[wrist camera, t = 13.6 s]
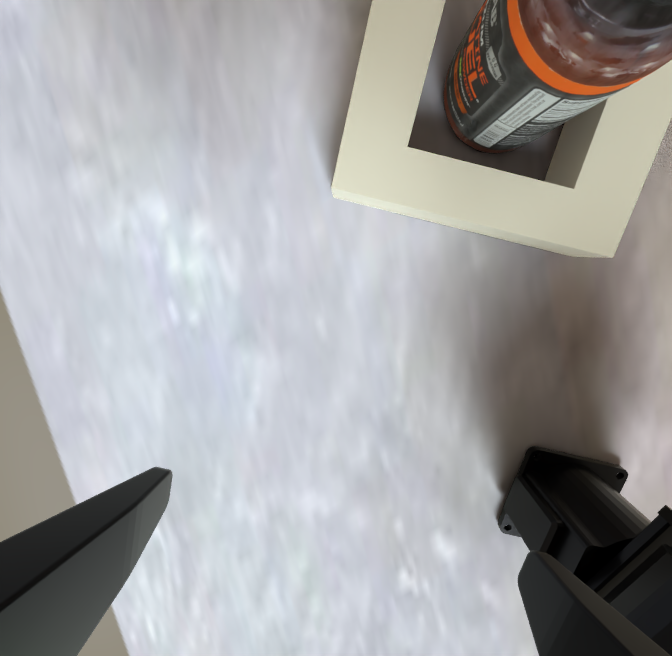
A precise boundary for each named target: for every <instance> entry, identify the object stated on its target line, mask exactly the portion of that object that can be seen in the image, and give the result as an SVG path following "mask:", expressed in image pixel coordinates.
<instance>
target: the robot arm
mask: <svg viewBox="0 0 672 656" xmlns="http://www.w3.org/2000/svg"><path fill="white" fill-rule="evenodd" d="M537 453H538V455H537V456H535V457H534V455H535V454H537ZM617 473H618V474H617ZM627 477H628V472H627V471H626V470H625V469H623V468H622V467H621V466H619V465H614V464H610V463H606V462H602V461H597V460H593V459H589V458H584V457H580V456H576V455H571V454H567V453H563V452H558V451H554V450H550V449H545V448H541V447H535V446H534V447H531V448H529V449H528V451H527V452H526V455H525V457H524V460H523V462H522V465H521V467H520V469H519V472H518V474H517V477H516V478H515V480H514V483H513V485H512V487H511V490H510V492H509V495H508V497H507V500H506V502H505V504H504V508H503V511H502V513H501V515H500V518H499V520H498V526H499V528H500V530H501V531H502V532H503V533H505V534H509V535H514V536H518V537H522V539H523V540H524V542H525V544H526V545H527V547H528V549H529V550H530V552H529V553H528V554H527V557H526V559H525V561H524V563H523V566H522V568H521V570H520V572H519V575H518V587H519V590H520V594H521V597H522V600H523V604H524V607H525V610H526V614H527V617H528V620H529V624H530V627H531V630H532V634H533V637H534V640H535V644H536V647H537V650H538V653H539V656H672V509H671V508H669V507H668V506H667V505H665V506H664V507H663V508H662V509H661V510H660V511H659V512H658V514H659V515H658V516H657V517H656V518H655V519H654V520H653V521H652V522H651V521H650V520H649V519H647V518H646V517H645V516H644V515H643V514H642V513H641V512H640V511H638V510H637V509H636V508H635V507H634V506H633V505H632V504H631V503H629V502H628V501H627V500H626V499H625V498H624V497H623V496H621V495H620V494H619V493H620V491H621V489H622V487H623V485H624V483H625V481H626V479H627ZM171 482H172V471H171V470H169V469H164V468H160V467H154V468H151V469H149V470H147V471H145V472H143V473H141V474H139V475H137V476H135V477H133V478H131V479H129V480H127V481H125V482H123V483H120V484H118V485H116V486H114V487H112V488H110V489H108V490H106V491H104V492H102V493H100V494H98V495H96V496H94V497H92V498H90V499H88V500H86V501H84V502H82V503H79V504H77V505H75V506H73V507H71V508H69V509H67V510H65V511H63V512H61V513H59V514H57V515H55V516H53V517H51V518H49V519H47V520H45V521H43V522H41V523H38V524H37V525H35V526H33V527H30V528H28V529H26V530H24V531H22V532H20V533H18V534H16V535H14V536H12V537H10V538H8V539H6V540H4V541H2V542H0V656H77V655H78V653H79V652H80V650H81V649H82V647H83V646H84V644H85V643H86V641H87V640H88V638H89V637H90V635H91V634H92V632H93V631H94V629H95V628H96V626H97V625H98V623H99V622H100V620H101V619H102V617H103V616H104V614H105V613H106V611H107V610H108V608H109V607H110V605H111V604H112V602H113V601H114V599H115V598H116V596H117V595H118V593H119V592H120V590H121V588H122V587H123V585H124V584H125V582H126V581H127V579H128V577H129V576H130V574H131V572H132V570H133V569H134V567H135V565H136V563H137V561H138V559H139V558H140V556H141V554H142V552H143V550H144V548H145V546H146V545H147V543H148V541H149V539H150V537H151V535H152V533H153V532H154V530H155V528H156V526H157V524H158V522H159V520H160V518H161V517H162V515H163V513H164V511H165V509H166V507H167V504H168V501H169V496H170V489H171ZM507 524H508V525H507ZM505 525H507V526H505Z"/></svg>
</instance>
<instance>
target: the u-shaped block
mask: <svg viewBox="0 0 672 656" xmlns="http://www.w3.org/2000/svg"><path fill="white" fill-rule="evenodd" d="M445 1H446V0H372V4H371V8H370V13H369V18H368V22H367V27H366V31H365V36H364V40H363V45H362V50H361V54H360V59H359V63H358V68H357V72H356V77H355V82H354V86H353V91H352V95H351V100H350V104H349V109H348V114H347V118H346V123H345V127H344V132H343V136H342V141H341V145H340V150H339V155H338V159H337V164H336V168H335V173H334V177H333V182H332V187H331V189H332V193H333V198H337V199H341V200H345V201H349V202H353V203H357V204H361V205H365V206H369V207H374V208H378V209H382V210H386V211H390V212H394V213H398V214H402V215H406V216H410V217H414V218H418V219H422V220H426V221H430V222H434V223H438V224H442V225H446V226H450V227H454V228H458V229H462V230H466V231H470V232H474V233H478V234H482V235H486V236H491V237H495V238H499V239H503V240H507V241H511V242H515V243H519V244H523V245H527V246H531V247H535V248H539V249H543V250H547V251H551V252H555V253H559V254H563V255H567V256H571V257H603V258H613V257H614V255H615V252H616V250H617V247H618V245H619V243H620V240H621V238H622V235H623V233H624V231H625V228H626V226H627V223H628V221H629V219H630V216H631V214H632V211H633V209H634V207H635V204H636V202H637V199H638V197H639V195H640V192H641V190H642V187H643V185H644V183H645V180H646V178H647V175H648V173H649V170H650V168H651V166H652V163H653V161H654V158H655V156H656V154H657V151H658V149H659V146H660V144H661V142H662V139H663V137H664V134H665V132H666V130H667V127H668V125H669V122H670V120H671V118H672V60H671V61H669V62H668V63H666V64H665V65H663V66H662V67H660V68H659V69H657V70H656V71H654V72H652V73H651V74H649V75H647V76H645V77H644V78H642V79H640V80H639V81H638V82H636V83H633V84H632V85H630V86H629V87H627V88H625V89H623V90H621V91H619V92H618V93H616V94H614V95H612V96H611V97H609V98H607V99H605V100H603V101H602V102H600V103H598V104H596V105H595V106H593V107H591V108H589V109H588V110H586V111H585V112H583V113H581V114H579V115H577V116H576V117H574V118H572V119H570V120H568V121H567V122H565V123H564V126H563V129H562V132H561V135H560V138H559V140H558V143H557V146H556V149H555V152H554V155H553V157H552V160H551V163H550V166H549V169H548V172H547V174H546V177H545V180H544V181H541V180H537V179H533V178H529V177H525V176H521V175H517V174H513V173H509V172H505V171H501V170H497V169H493V168H489V167H485V166H481V165H477V164H473V163H470V162H466V161H462V160H458V159H454V158H450V157H446V156H442V155H438V154H434V153H430V152H426V151H422V150H418V149H414V148H410V147H407V146H408V143H409V139H410V135H411V131H412V127H413V123H414V120H415V116H416V112H417V108H418V104H419V100H420V97H421V93H422V89H423V85H424V81H425V77H426V73H427V70H428V66H429V62H430V58H431V54H432V50H433V47H434V43H435V39H436V35H437V31H438V27H439V24H440V20H441V16H442V12H443V8H444V4H445Z"/></svg>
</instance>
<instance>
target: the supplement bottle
mask: <svg viewBox="0 0 672 656" xmlns="http://www.w3.org/2000/svg"><path fill="white" fill-rule="evenodd" d="M671 60H672V0H486V1H485V2H484V4H483V6H482V8H481V9H480V11H479V13H478V14H477V16H476V17H475V19H474V21H473V23H472V25H471V26H470V28H469V30H468V31H467V33H466V35H465V37H464V39H463V41H462V42H461V44H460V46H459V47H458V49H457V51H456V53H455V55H454V57H453V60H452V62H451V65H450V67H449V70H448V73H447V76H446V80H445V87H444V106H445V111H446V115H447V118H448V121H449V123H450V125H451V127H452V129H453V130H454V132H455V134H456V136H457V137H458V138H460V139H461V140H462V141H463V142H464V143H466V144H467V145H469V146H471V147H473V148H474V149H477V150H479V151H483V152H487V153H502V152H507V151H511V150H515V149H517V148H519V147H521V146H523V145H525V144H527V143H529V142H531V141H533V140H535V139H537V138H538V137H540V136H542V135H544V134H545V133H547V132H549V131H551V130H553V129H554V128H556V127H558V126H560V125H561V124H563V123H565V122H567V121H568V120H570V119H572V118H574V117H576V116H577V115H579V114H581V113H583V112H585V111H586V110H588V109H589V108H591V107H593V106H595V105H596V104H598V103H600V102H602V101H603V100H605V99H607V98H609V97H611V96H612V95H614V94H616V93H618V92H619V91H621V90H623V89H625V88H627V87H629V86H630V85H632V84H633V83H636V82H638V81H639V80H640V79H642V78H644V77H645V76H647V75H649V74H651V73H652V72H654V71H656V70H657V69H659V68H660V67H662V66H663V65H665V64H666V63H668V62H669V61H671Z"/></svg>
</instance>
